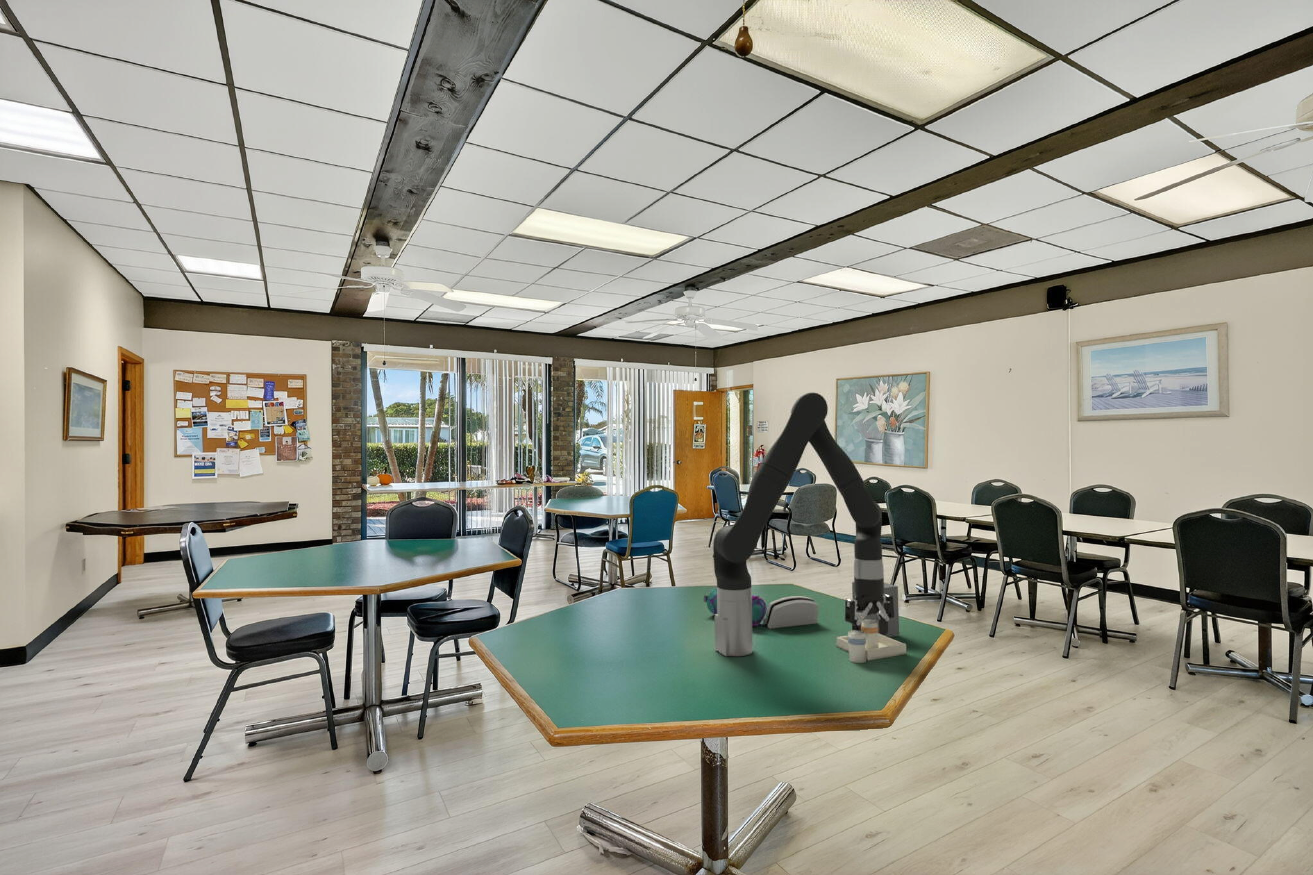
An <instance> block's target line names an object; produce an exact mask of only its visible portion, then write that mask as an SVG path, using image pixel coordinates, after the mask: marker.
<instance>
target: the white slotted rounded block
mask: <svg viewBox="0 0 1313 875" xmlns="http://www.w3.org/2000/svg"><path fill="white" fill-rule="evenodd" d="M818 613H819V606H818V603H817V602H816V601H815V600H814V599H813V598H811V597H808V596H803V595H802V596H801V595H792V596H790V595H789V596H786V597H782V598H778V599H776V600H773V601H770V603H769V604H768V607H767V610H766V615H765V617H764V619H763V620H762V625H767V628H768V629H777V628H779V629H780V628H786V627H796V626H803V625H812V624H813V625H814V624H818V618H819V616H818V615H819V614H818Z"/></svg>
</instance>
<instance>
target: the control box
mask: <svg viewBox="0 0 1313 875" xmlns="http://www.w3.org/2000/svg"><path fill="white" fill-rule="evenodd" d="M851 590H852V591H851V592H852V593H851V594H852V600H855V598H856V593H855V591H854V581H852V582H851ZM884 594H887V595H891V596H893V604H894V618H890V619H889V621H888V633H887V635H883V636H886V637H888V638H892V637H899V636H900V619H899V618H900V616H899V614H900V613H899V611H900V610H899V586H898V585H894V584H891V583H889V582H888V583H887V582H884ZM884 594H882V595H884ZM856 607H857V605H856ZM882 607H883V608H884V603H883V604H882ZM855 609H856V608H855ZM859 613H862V612H861V611H860V612H859ZM867 619H869V620H875V621H877V622H878V631H879V620H881V619H880V618H879V617H878V615H877V614H870V615H866V617H865V618H864V619H863V620H867ZM860 625H862V622H861V623H860ZM878 634H880V632H878ZM881 635H882V634H881Z"/></svg>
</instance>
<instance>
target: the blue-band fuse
mask: <svg viewBox="0 0 1313 875" xmlns="http://www.w3.org/2000/svg"><path fill="white" fill-rule="evenodd" d="M848 635H849V636H848ZM847 636H848V643H849V652H848V657H849V661H850V662H851V663H856V664H863V663H866V662H867V660H866V649H865V644H866V637H865V632H863V631H858V630H849V631H848V632H847Z"/></svg>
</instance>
